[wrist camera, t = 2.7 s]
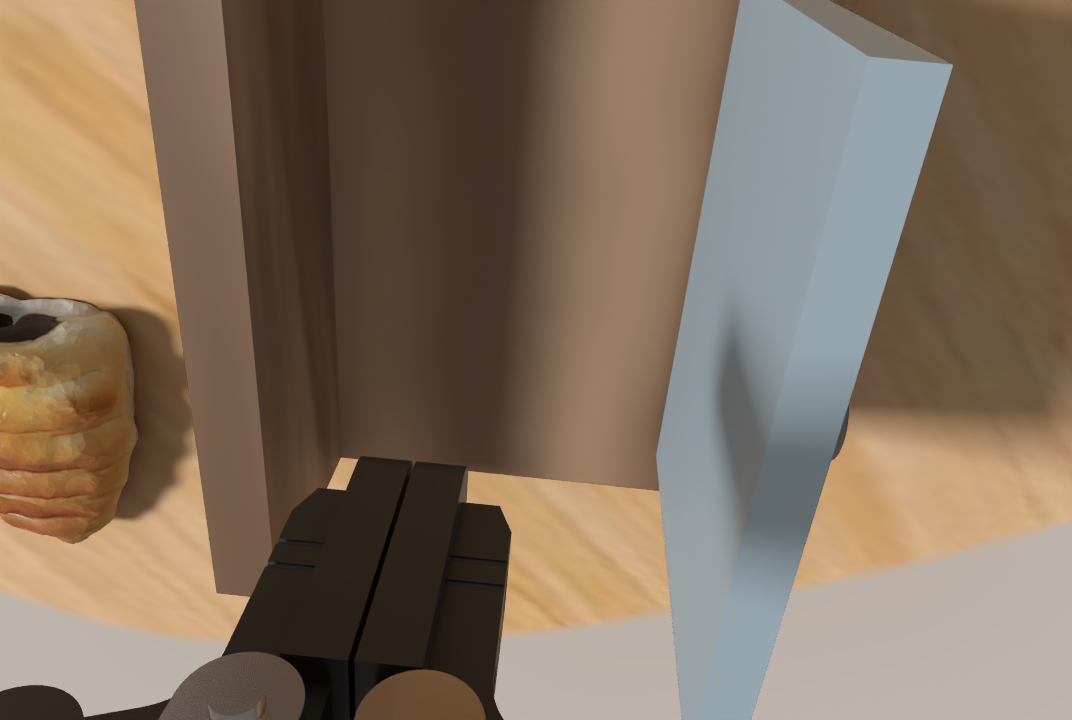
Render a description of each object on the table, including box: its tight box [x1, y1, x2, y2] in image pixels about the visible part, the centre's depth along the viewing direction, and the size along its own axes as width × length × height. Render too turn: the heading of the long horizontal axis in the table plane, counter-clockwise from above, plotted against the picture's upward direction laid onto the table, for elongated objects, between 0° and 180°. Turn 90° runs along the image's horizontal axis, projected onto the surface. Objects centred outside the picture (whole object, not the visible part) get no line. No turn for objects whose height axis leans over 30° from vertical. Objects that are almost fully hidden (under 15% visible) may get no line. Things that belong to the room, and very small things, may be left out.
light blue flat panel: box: [656, 0, 953, 720], centre depth 18 cm, size 2×13×10 cm, turn 176°
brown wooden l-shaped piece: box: [134, 0, 740, 597], centre depth 21 cm, size 12×16×9 cm
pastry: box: [0, 294, 138, 544], centre depth 29 cm, size 9×7×4 cm
